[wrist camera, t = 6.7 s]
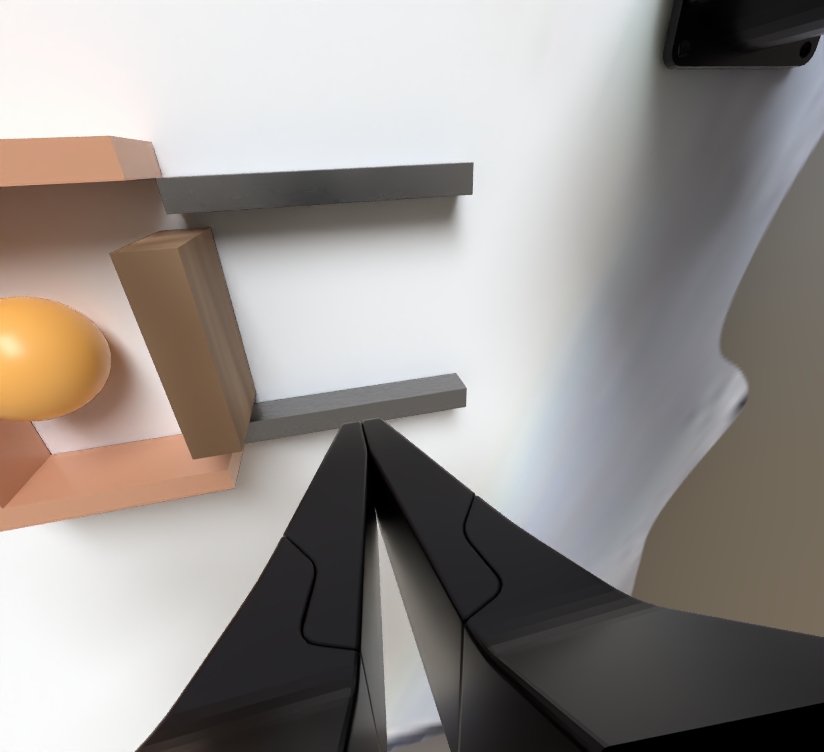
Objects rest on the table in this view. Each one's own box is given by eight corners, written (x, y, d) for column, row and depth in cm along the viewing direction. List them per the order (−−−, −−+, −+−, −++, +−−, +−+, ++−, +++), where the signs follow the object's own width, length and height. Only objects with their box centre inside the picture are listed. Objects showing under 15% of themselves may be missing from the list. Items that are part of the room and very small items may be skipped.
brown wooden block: (210, 227, 14) (177, 247, 10) (256, 393, 17) (242, 451, 13) (160, 231, 13) (109, 253, 10) (216, 398, 17) (192, 459, 13)
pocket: (151, 142, 12) (110, 135, 10) (245, 442, 18) (234, 488, 16) (-183, 153, 11) (-336, 149, 8) (35, 477, 17) (-15, 534, 14)
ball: (-83, 300, 12) (78, 275, 14) (-10, 409, 14) (122, 372, 16) (-121, 337, 9) (85, 298, 11) (-23, 466, 11) (137, 412, 13)
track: (459, 162, 15) (473, 162, 13) (455, 390, 20) (466, 406, 18) (170, 177, 13) (155, 178, 12) (245, 424, 18) (240, 444, 16)
